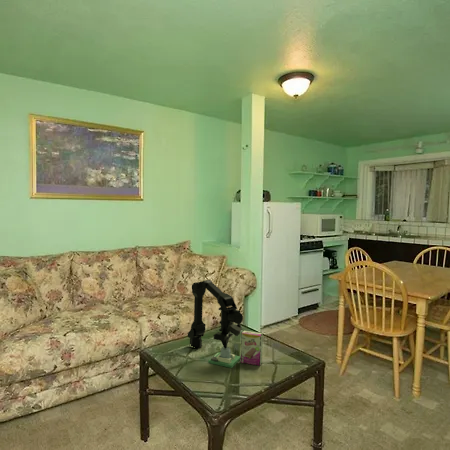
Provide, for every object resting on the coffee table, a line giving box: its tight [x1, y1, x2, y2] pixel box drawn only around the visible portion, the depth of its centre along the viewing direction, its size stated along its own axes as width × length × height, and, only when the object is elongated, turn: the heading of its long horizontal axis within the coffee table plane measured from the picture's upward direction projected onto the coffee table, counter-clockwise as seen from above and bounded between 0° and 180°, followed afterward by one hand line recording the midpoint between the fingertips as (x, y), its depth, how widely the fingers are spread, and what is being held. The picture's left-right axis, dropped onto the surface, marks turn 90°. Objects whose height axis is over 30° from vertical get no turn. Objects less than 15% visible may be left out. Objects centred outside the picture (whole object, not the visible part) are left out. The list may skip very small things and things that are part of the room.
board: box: [207, 351, 241, 369], centre depth 174 cm, size 14×13×3 cm
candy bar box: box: [240, 330, 264, 367], centre depth 172 cm, size 11×5×16 cm, turn 71°
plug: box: [220, 346, 232, 359], centre depth 173 cm, size 5×4×6 cm
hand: (225, 347), depth 173 cm, fingers closed
